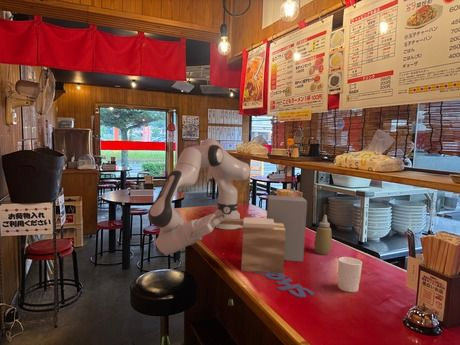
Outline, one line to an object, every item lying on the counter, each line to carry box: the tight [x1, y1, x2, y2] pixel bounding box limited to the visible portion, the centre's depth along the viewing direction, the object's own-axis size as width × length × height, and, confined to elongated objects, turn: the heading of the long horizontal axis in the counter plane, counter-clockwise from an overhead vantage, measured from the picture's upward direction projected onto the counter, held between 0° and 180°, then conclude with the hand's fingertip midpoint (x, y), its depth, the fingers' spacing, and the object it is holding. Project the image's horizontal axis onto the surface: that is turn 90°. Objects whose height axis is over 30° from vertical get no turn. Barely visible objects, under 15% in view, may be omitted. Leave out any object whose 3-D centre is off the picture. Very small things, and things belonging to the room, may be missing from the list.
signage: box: [252, 271, 316, 299], centre depth 122 cm, size 28×1×10 cm
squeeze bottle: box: [313, 214, 333, 256], centre depth 157 cm, size 8×8×18 cm
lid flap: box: [211, 217, 275, 228], centre depth 135 cm, size 10×25×2 cm, turn 86°
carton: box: [266, 194, 308, 262], centre depth 150 cm, size 12×16×26 cm
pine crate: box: [240, 223, 286, 274], centre depth 135 cm, size 12×16×17 cm
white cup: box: [337, 256, 363, 293], centre depth 118 cm, size 8×8×10 cm
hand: (223, 216), depth 135 cm, fingers open, 5 cm apart
